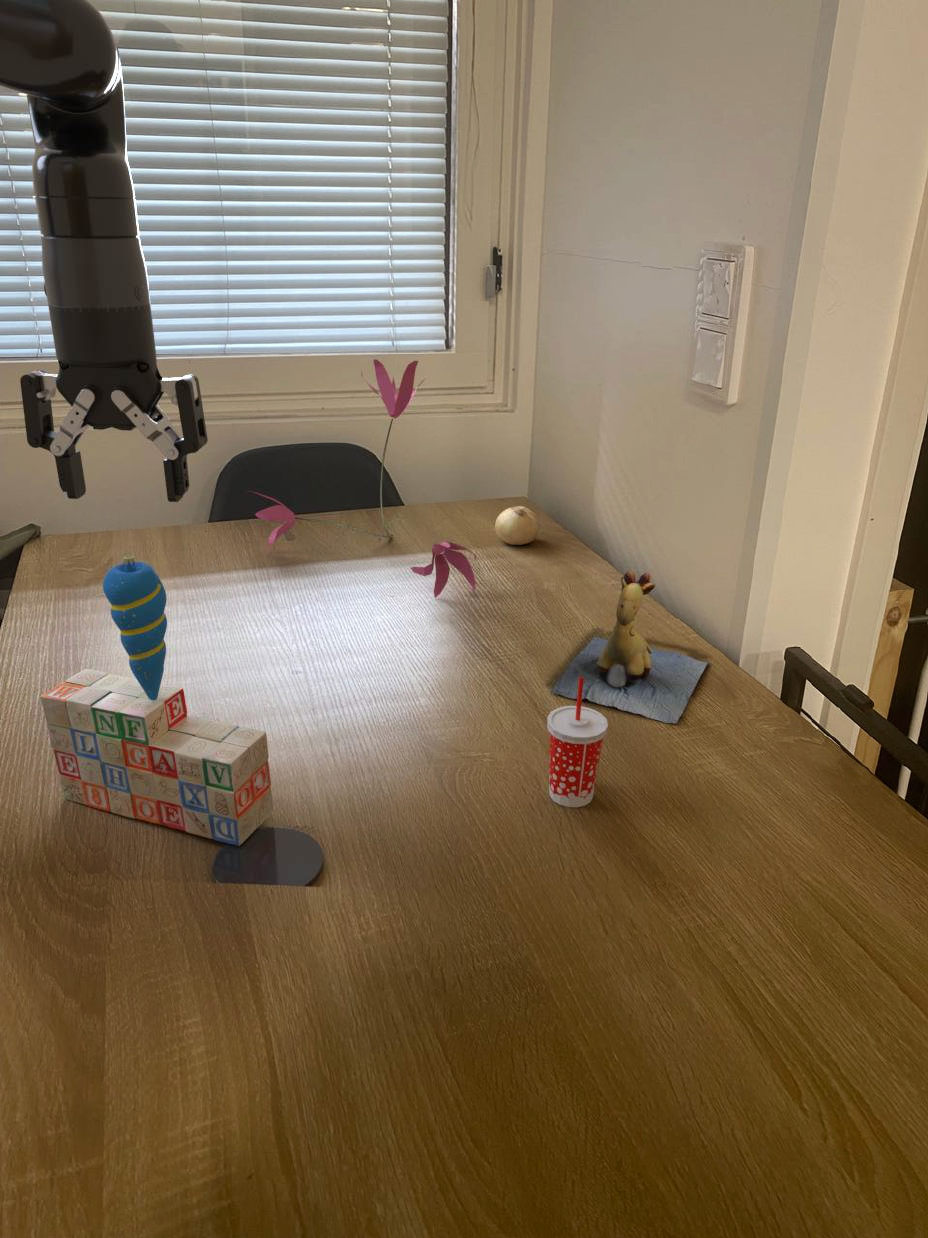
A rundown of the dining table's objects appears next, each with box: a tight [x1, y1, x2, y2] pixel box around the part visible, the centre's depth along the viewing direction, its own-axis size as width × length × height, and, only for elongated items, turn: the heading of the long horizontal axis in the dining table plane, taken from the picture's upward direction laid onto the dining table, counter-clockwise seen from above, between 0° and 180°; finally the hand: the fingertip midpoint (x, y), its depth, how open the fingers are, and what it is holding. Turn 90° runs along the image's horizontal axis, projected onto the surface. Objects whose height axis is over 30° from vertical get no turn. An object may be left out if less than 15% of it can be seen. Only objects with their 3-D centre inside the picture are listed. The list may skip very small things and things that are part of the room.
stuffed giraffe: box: [550, 571, 708, 724], centre depth 116 cm, size 16×18×16 cm
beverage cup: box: [546, 676, 609, 808], centre depth 93 cm, size 6×6×14 cm
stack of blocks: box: [40, 668, 274, 846], centre depth 89 cm, size 21×6×12 cm, turn 69°
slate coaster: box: [212, 826, 324, 887], centre depth 84 cm, size 10×10×1 cm
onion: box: [494, 505, 540, 546], centre depth 163 cm, size 8×8×7 cm
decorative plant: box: [246, 359, 477, 599], centre depth 149 cm, size 38×42×30 cm
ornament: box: [102, 549, 168, 700], centre depth 83 cm, size 5×5×15 cm
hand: (126, 498), depth 78 cm, fingers open, 8 cm apart
